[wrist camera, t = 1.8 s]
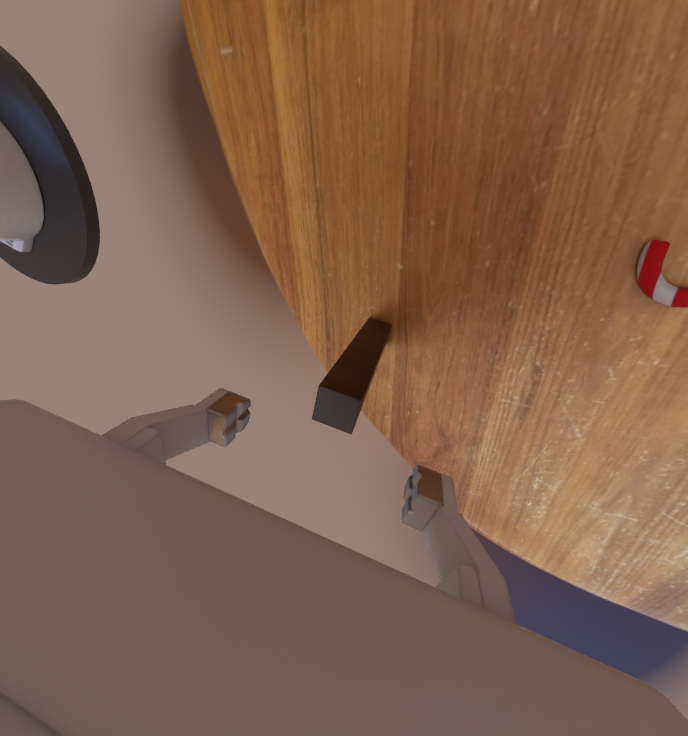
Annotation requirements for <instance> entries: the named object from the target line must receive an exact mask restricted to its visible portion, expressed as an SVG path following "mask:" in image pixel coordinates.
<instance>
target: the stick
mask: <svg viewBox="0 0 688 736" xmlns="http://www.w3.org/2000/svg"><path fill="white" fill-rule="evenodd" d="M391 327H392V324H389V323H385V322H382V321H379V320H376V319H372V318H369V319H368V320H367V321H366V323H365V324H364V325H363V327H362V328H361V330H360V331H359V332H358V334H357V335H356V336H355V338H354V339H353V340H352V342H351V343H350V344H349V346H348V347H347V348H346V350H345V351H344V352H343V354H342V355H341V356H340V358H339V359H338V360H337V362H336V363H335V364H334V366H333V367H332V368H331V370H330V371H329V373H328V374H327V375H326V377H325V378H324V379H323V381H322V382H321V383H320V385H319V387H318V392H317V397H316V402H315V406H314V411H313V416H312V419H313V420H315V421H318V422H321V423H323V424H326V425H328V426H331V427H334V428H336V429H339V430H342V431H344V432H347V433H349V434H352V432H353V429H354V427H355V424H356V421H357V419H358V416H359V413H360V411H361V408H362V406H363V403H364V400H365V398H366V395H367V392H368V390H369V387H370V384H371V382H372V379H373V377H374V374H375V371H376V369H377V366H378V363H379V361H380V358H381V356H382V353H383V350H384V348H385V345H386V342H387V339H388V336H389V333H390V330H391Z"/></svg>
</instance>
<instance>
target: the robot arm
mask: <svg viewBox="0 0 688 736" xmlns="http://www.w3.org/2000/svg"><path fill="white" fill-rule="evenodd" d="M43 221H44V207H43V200H42V196H41V192H40V188H39V185H38V182H37V180H36V177H35V175H34V172H33V170H32V168H31V166H30V164H29V161H28V160H27V158H26V156H25V154H24V152H23V151H22V149H21V147H20V146H19V144H18V143H17V141H16V140H15V138H14V137H13V136H12V134H11V133H10V132H9V130H8V129H7V128H6V127H5V126H4V124H3V123H2V122H1V121H0V241H1V242H3V243H4V244H6V245H8V246H10V247H12V248H13V249H15V250H17V251H19V252H31V250H32V245H33V238H34V237H35V236H36V235H37V234H38V233H39V232H40V230H41V228H42V225H43ZM250 405H251V402H250V400H249V399H247V398H245V397H243V396H240V395H238V394H235V393H233V392H230V391H228V390H225V389H223V388H221V389H218V390H217V391H215V392H214V393H212V394H211V395H209V396H208V397H206V398H205V399H203V400H202V401H201V402H199V403H198V404H196V405H195V406H194V405H188V406H183V407H179V408H174V409H169V410H165V411H160V412H156V413H151V414H146V415H142V416H138V417H133V418H130V419H129V420H127V421H125V422H123V423H122V424H120V425H118V426H116V427H115V428H113V429H111V430H110V431H108V432H106V433H104V434H103V435H99V434H97V433H94V432H92V431H90V430H88V429H86V428H83V427H81V426H79V425H77V424H75V423H72V422H70V421H68V420H66V419H63V418H61V417H59V416H57V415H55V414H53V413H50V412H48V411H46V410H44V409H42V408H39V407H38V406H35V405H33V404H31V403H29V402H26V401H22V400H2V401H0V736H688V720H687V719H686V718H685V717H684V716H683V715H682V713H681V712H679V710H678V709H677V708H676V707H675V706H674V705H673V704H672V703H671V702H670V700H669V699H668V698H666V697H665V696H664V695H663V694H662V693H660V692H659V691H657V690H656V689H655V688H653V687H652V686H649V685H648V684H646V683H644V682H642V681H640V680H638V679H636V678H633V677H631V676H629V675H627V674H624V673H622V672H620V671H618V670H616V669H613V668H611V667H609V666H607V665H605V664H603V663H600V662H598V661H596V660H593V659H592V658H589V657H587V656H585V655H583V654H580V653H578V652H576V651H574V650H572V649H569V648H567V647H565V646H563V645H561V644H558V643H556V642H554V641H552V640H549V639H547V638H545V637H543V636H541V635H539V634H536V633H534V632H532V631H530V630H528V629H525V628H523V627H521V626H518V625H517V624H516V623H515V620H514V615H513V611H512V607H511V602H510V598H509V594H508V590H507V586H506V581H505V579H504V577H503V576H502V575H501V573H500V571H499V570H498V569H497V567H496V566H495V564H494V563H493V561H492V560H491V558H490V557H489V555H488V554H487V552H486V551H485V549H484V548H483V546H482V545H481V543H480V542H479V540H478V539H477V537H476V536H475V534H474V533H473V531H472V530H471V528H470V527H469V525H468V524H467V522H466V521H465V519H464V518H463V516H462V515H461V514H460V513H458V512H457V504H456V497H455V489H454V481H453V478H452V477H450V476H447V475H445V474H442V473H439V472H437V471H434V470H431V469H429V468H426V467H423V466H421V465H418V464H417V465H416V466H415V467H414V469H413V475H412V476H410V477H409V478H408V480H407V483H406V486H405V490H404V500H405V504H404V506H403V510H402V523H405V524H407V525H409V526H411V527H413V528H415V529H418V530H420V531H422V532H421V533H422V535H423V538H424V540H425V543H426V545H427V548H428V550H429V552H430V555H431V557H432V560H433V562H434V565H435V567H436V570H437V572H438V575H439V577H440V579H441V582H440V583H439V584H438V585H437V586H436V587H433V586H431V585H428V584H426V583H424V582H422V581H420V580H418V579H415V578H413V577H411V576H409V575H407V574H404V573H402V572H400V571H398V570H395V569H393V568H391V567H389V566H387V565H385V564H382V563H380V562H378V561H376V560H374V559H371V558H369V557H367V556H365V555H363V554H360V553H358V552H356V551H354V550H352V549H349V548H347V547H345V546H343V545H341V544H338V543H336V542H334V541H332V540H330V539H327V538H325V537H323V536H320V535H319V534H316V533H314V532H312V531H310V530H307V529H305V528H303V527H301V526H299V525H297V524H294V523H292V522H290V521H288V520H286V519H283V518H281V517H279V516H277V515H275V514H272V513H270V512H268V511H266V510H264V509H261V508H259V507H257V506H255V505H253V504H250V503H248V502H246V501H244V500H241V499H239V498H237V497H235V496H233V495H231V494H228V493H226V492H224V491H222V490H219V489H217V488H215V487H213V486H211V485H209V484H206V483H204V482H202V481H200V480H198V479H195V478H193V477H191V476H189V475H187V474H184V473H182V472H180V471H178V470H176V469H173V468H171V467H169V466H167V465H166V462H165V460H168V459H170V458H173V457H175V456H177V455H180V454H182V453H184V452H187V451H189V450H191V449H194V448H196V447H198V446H201V445H203V444H206V443H208V442H209V441H211V442H213V443H216V444H219V445H221V446H224V447H226V446H228V444H229V443H230V442H231V441H232V440H233V439H234V438H235V434H236V433H238V432H241V431H242V430H243V429H244V428H245V427H246V425H247V424H248V422H249V419H250V412H249V410H248V408H249V407H250Z"/></svg>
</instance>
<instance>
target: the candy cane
mask: <svg viewBox="0 0 688 736" xmlns="http://www.w3.org/2000/svg"><path fill="white" fill-rule="evenodd" d="M669 245H670V243H669V242H667V241H662V240H652V241H649V242H648V243H647V244H646V245H645V247H644V249H643V251H642V253H641V255H640V258H639V262H638V265H637V271H636V272H637V281H638V284H639V286H640V288H641V289H642V291H643V292H644V293H645V294H646V295H647V296H648V297H650V298H651V299H653V300H655V301H656V302H659V303H661V304H664V305H667V306H670V307H688V289H682V288H678V287H675V286H673V285H671V284H669V283H668V282H667V281H666V280H665V279H664V277H663V275H662V264H663V260H664V257H665V255H666V253H667V251H668V248H669Z"/></svg>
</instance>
